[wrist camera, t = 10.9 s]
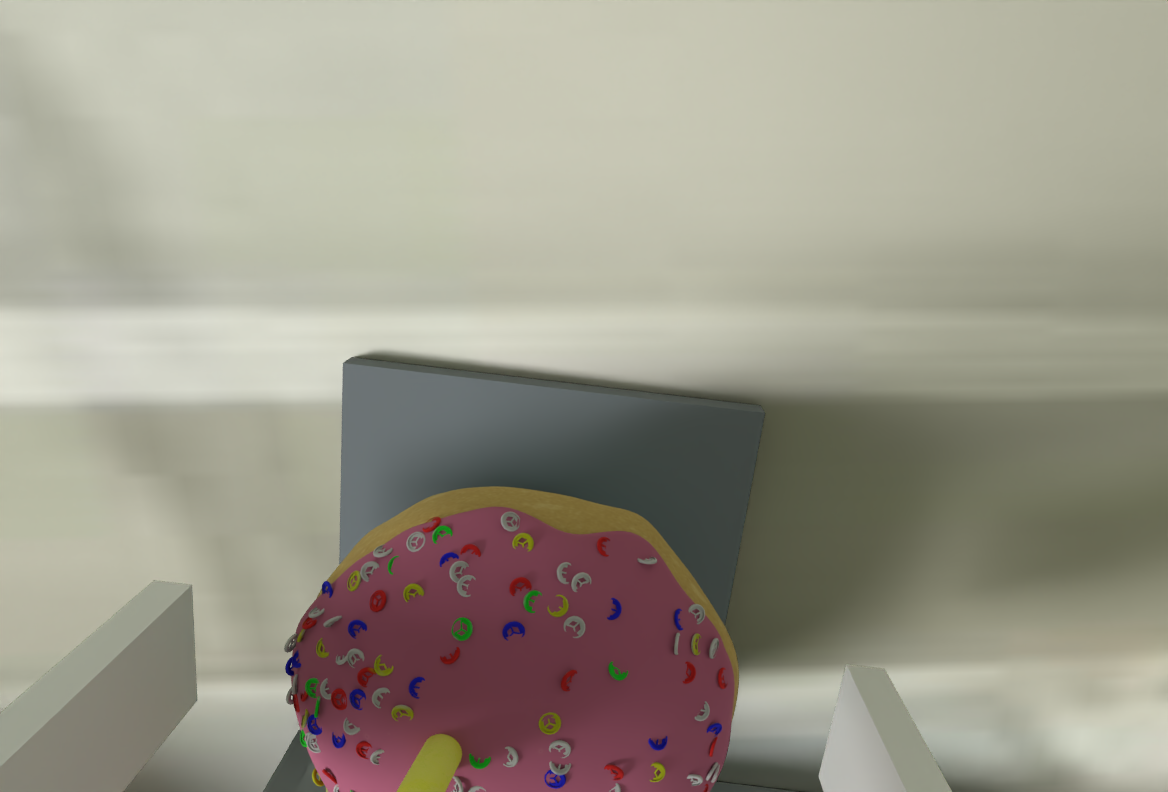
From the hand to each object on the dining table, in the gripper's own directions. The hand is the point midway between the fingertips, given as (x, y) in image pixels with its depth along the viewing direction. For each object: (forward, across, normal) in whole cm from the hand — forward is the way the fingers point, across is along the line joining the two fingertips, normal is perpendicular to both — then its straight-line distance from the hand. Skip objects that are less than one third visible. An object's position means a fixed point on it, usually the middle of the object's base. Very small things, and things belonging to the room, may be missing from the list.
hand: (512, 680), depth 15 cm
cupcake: (+4, 0, 0) cm, 4 cm away
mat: (+5, 0, 0) cm, 5 cm away
